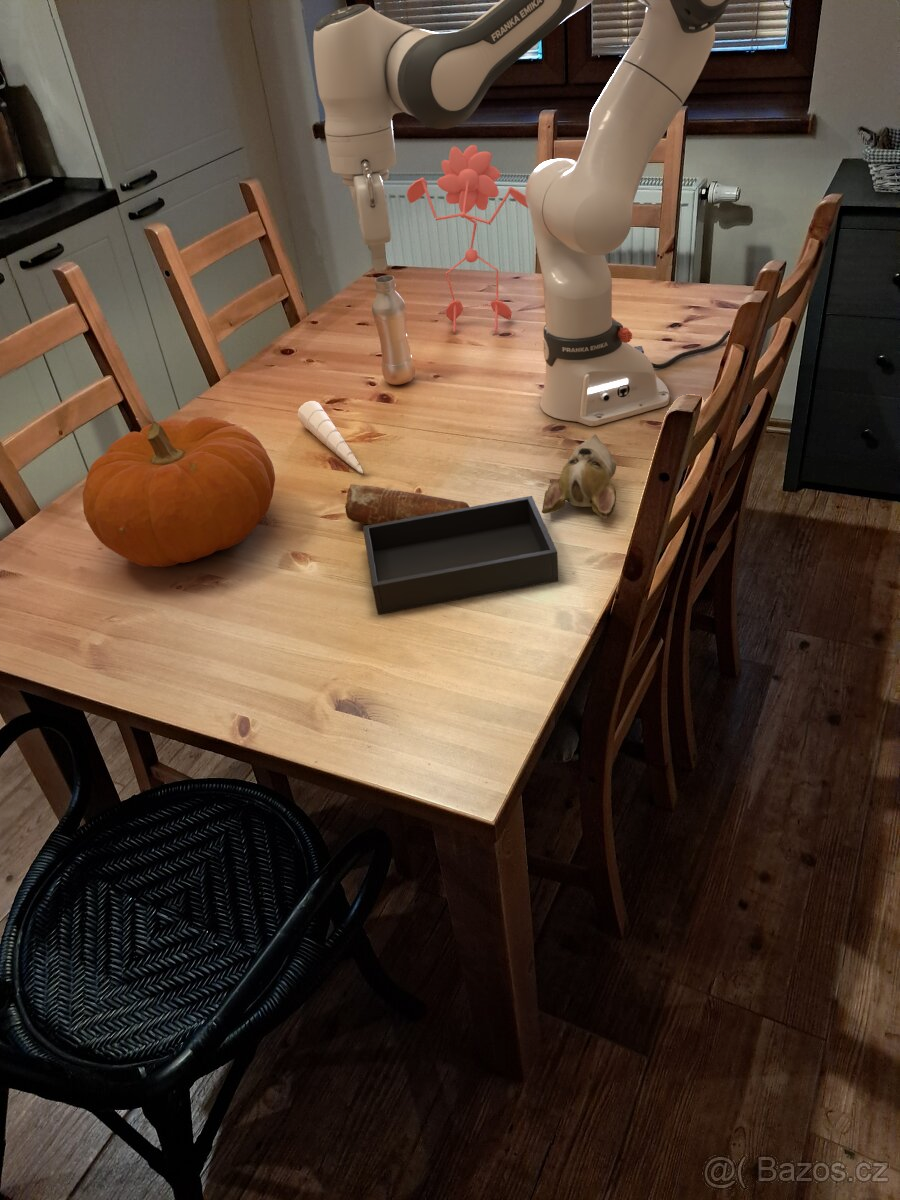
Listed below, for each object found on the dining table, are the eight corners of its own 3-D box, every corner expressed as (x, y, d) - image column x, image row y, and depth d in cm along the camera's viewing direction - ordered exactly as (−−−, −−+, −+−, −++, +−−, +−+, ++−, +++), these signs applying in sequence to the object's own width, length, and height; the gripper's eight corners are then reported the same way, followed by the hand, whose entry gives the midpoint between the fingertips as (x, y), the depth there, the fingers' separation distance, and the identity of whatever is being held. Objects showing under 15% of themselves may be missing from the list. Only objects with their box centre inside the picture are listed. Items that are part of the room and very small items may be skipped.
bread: (359, 508, 142) (353, 477, 139) (476, 516, 136) (473, 484, 133) (344, 530, 137) (337, 499, 134) (465, 540, 132) (461, 507, 128)
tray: (533, 523, 133) (531, 495, 130) (558, 581, 122) (557, 552, 119) (368, 553, 132) (362, 526, 129) (377, 614, 120) (372, 586, 117)
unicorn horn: (342, 483, 149) (336, 457, 146) (299, 427, 166) (293, 403, 163) (369, 474, 150) (364, 448, 147) (323, 420, 168) (318, 396, 165)
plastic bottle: (421, 374, 178) (407, 272, 166) (409, 389, 174) (394, 286, 161) (391, 373, 181) (375, 272, 168) (378, 388, 176) (361, 285, 163)
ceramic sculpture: (630, 426, 134) (609, 484, 124) (630, 475, 140) (611, 534, 130) (560, 422, 138) (534, 478, 128) (563, 470, 144) (539, 527, 134)
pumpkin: (203, 613, 125) (158, 488, 113) (66, 570, 137) (12, 454, 125) (322, 506, 144) (295, 389, 131) (192, 477, 156) (156, 368, 143)
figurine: (535, 333, 188) (525, 150, 166) (416, 334, 195) (392, 158, 173) (547, 305, 199) (540, 130, 178) (435, 307, 206) (414, 138, 185)
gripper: (393, 167, 112) (407, 279, 121) (379, 135, 128) (392, 235, 137) (342, 174, 112) (360, 286, 120) (334, 141, 128) (350, 241, 136)
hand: (377, 258), depth 129 cm, fingers open, 8 cm apart
